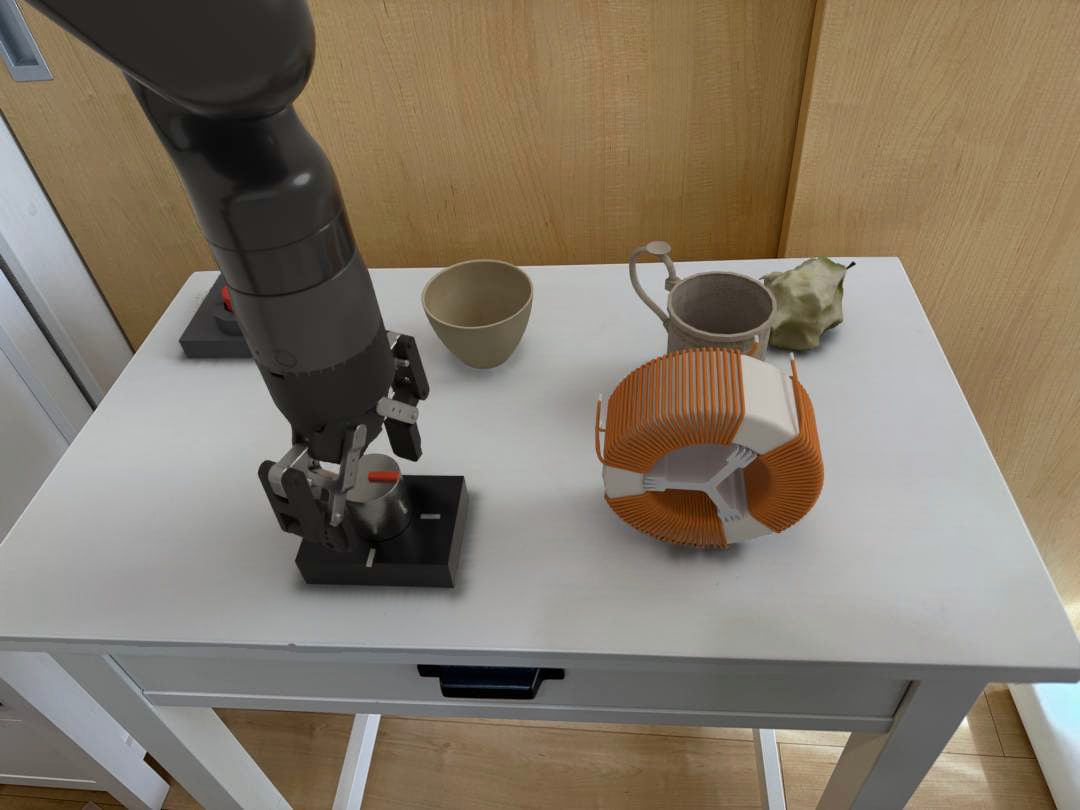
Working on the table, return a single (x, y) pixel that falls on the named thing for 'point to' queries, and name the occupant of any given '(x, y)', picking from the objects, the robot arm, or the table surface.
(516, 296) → the bowl
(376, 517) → the timer knob
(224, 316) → the button block
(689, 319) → the mug
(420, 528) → the timer panel
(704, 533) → the coil
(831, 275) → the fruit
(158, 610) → the table surface
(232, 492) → the table surface
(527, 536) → the table surface
